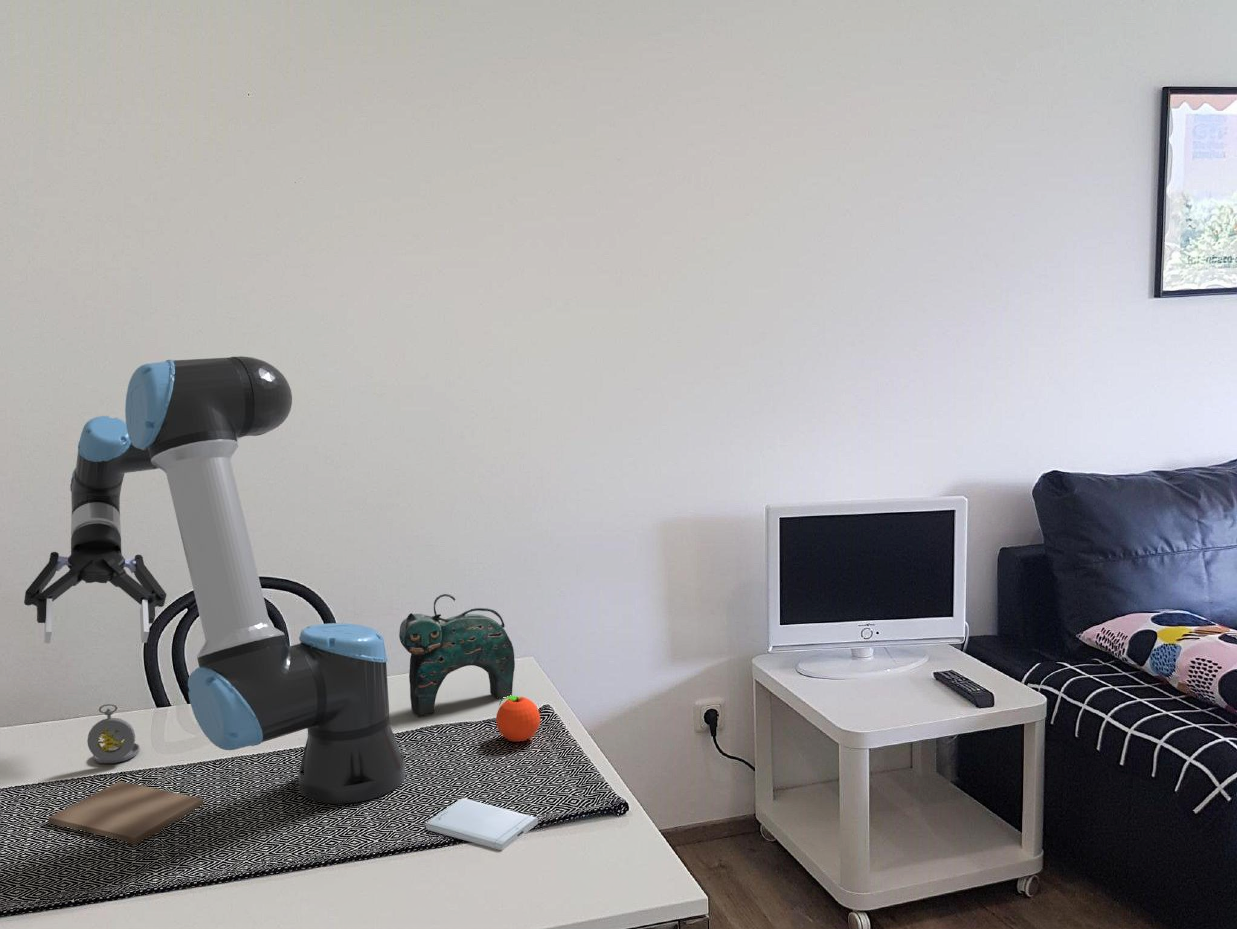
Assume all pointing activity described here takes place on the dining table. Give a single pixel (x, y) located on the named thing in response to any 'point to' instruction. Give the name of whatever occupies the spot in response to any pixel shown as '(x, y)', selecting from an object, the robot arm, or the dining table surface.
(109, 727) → the pocket watch
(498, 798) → the dining table surface
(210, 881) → the dining table surface
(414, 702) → the ceramic cat
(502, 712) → the clementine
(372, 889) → the dining table surface
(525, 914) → the dining table surface
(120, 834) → the walnut board
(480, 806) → the hard drive
